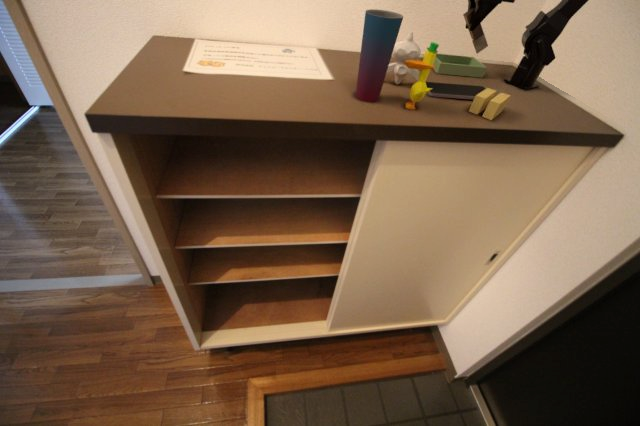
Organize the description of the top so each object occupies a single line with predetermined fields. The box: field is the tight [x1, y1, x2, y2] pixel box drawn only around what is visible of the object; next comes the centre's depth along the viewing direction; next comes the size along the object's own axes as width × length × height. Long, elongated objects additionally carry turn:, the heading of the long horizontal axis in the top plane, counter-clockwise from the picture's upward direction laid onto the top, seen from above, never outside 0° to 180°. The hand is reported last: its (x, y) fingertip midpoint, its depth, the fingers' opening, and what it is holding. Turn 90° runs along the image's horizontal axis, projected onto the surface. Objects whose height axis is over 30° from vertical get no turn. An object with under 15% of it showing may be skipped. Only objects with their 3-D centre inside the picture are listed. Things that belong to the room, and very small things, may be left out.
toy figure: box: [404, 41, 440, 110], centre depth 55 cm, size 7×4×12 cm, turn 83°
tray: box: [432, 53, 488, 79], centre depth 80 cm, size 13×9×3 cm
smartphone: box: [425, 81, 487, 101], centre depth 67 cm, size 7×1×15 cm
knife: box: [462, 7, 489, 54], centre depth 74 cm, size 3×2×11 cm
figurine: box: [386, 31, 422, 85], centre depth 65 cm, size 12×5×11 cm, turn 83°
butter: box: [468, 87, 512, 121], centre depth 60 cm, size 7×5×4 cm
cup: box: [355, 8, 404, 103], centre depth 56 cm, size 7×7×15 cm
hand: (469, 29), depth 74 cm, fingers closed on knife, 2 cm apart
